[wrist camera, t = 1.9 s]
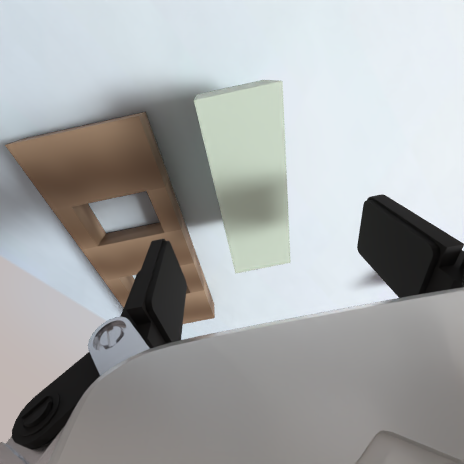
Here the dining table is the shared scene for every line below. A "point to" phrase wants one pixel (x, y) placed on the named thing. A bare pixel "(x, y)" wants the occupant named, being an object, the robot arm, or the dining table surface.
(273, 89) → the tall sage green block
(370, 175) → the dining table surface
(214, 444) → the robot arm
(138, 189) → the brown wooden board
